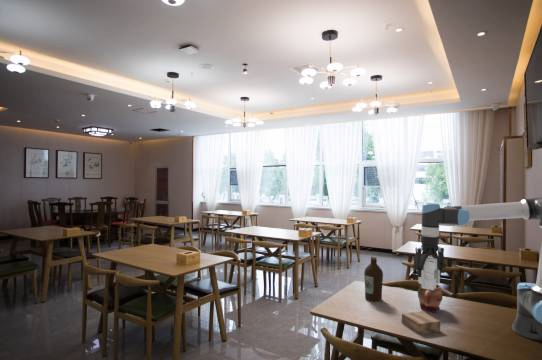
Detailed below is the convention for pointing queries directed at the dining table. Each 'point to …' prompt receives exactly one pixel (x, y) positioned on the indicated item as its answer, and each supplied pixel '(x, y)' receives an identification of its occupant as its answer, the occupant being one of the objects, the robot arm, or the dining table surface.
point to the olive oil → (373, 281)
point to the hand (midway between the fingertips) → (428, 283)
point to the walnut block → (421, 322)
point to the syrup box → (430, 274)
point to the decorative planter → (430, 298)
